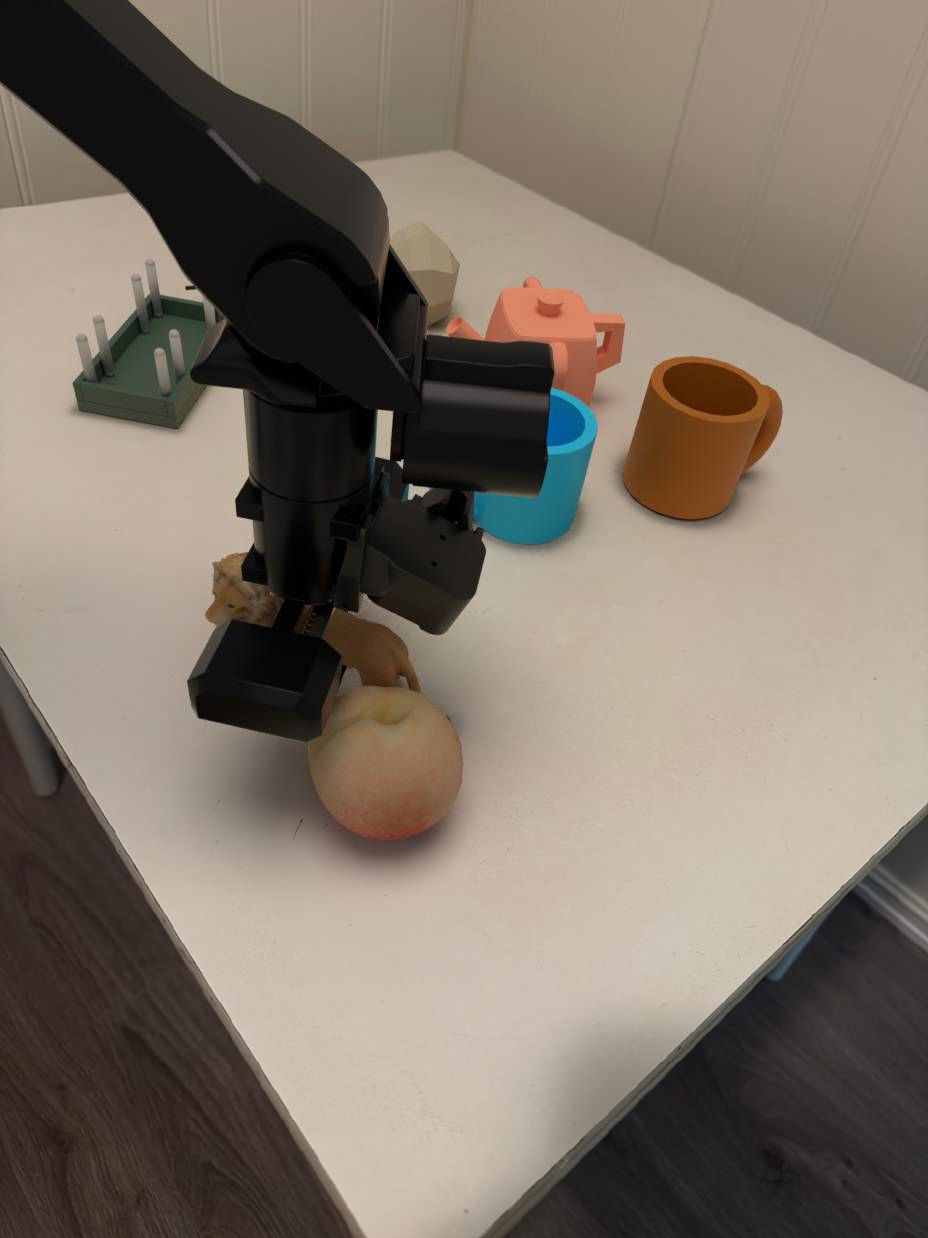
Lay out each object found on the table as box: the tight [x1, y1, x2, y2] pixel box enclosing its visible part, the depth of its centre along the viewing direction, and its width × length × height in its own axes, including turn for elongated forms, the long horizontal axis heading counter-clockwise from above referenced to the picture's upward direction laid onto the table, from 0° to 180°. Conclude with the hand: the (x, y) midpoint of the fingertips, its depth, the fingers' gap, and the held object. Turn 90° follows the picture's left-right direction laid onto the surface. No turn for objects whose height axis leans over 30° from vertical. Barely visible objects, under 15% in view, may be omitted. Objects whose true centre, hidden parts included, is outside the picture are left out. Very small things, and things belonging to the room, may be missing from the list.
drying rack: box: [72, 258, 225, 429], centre depth 72 cm, size 8×15×6 cm, turn 171°
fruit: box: [307, 686, 464, 841], centre depth 46 cm, size 8×8×8 cm
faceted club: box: [184, 220, 461, 327], centre depth 80 cm, size 9×8×25 cm
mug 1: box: [428, 388, 598, 546], centre depth 63 cm, size 12×8×8 cm
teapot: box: [445, 275, 626, 408], centre depth 73 cm, size 12×12×10 cm
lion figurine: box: [204, 551, 451, 722], centre depth 50 cm, size 15×5×9 cm, turn 74°
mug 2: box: [621, 355, 784, 520], centre depth 68 cm, size 9×12×9 cm
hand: (314, 679), depth 52 cm, fingers open, 7 cm apart
